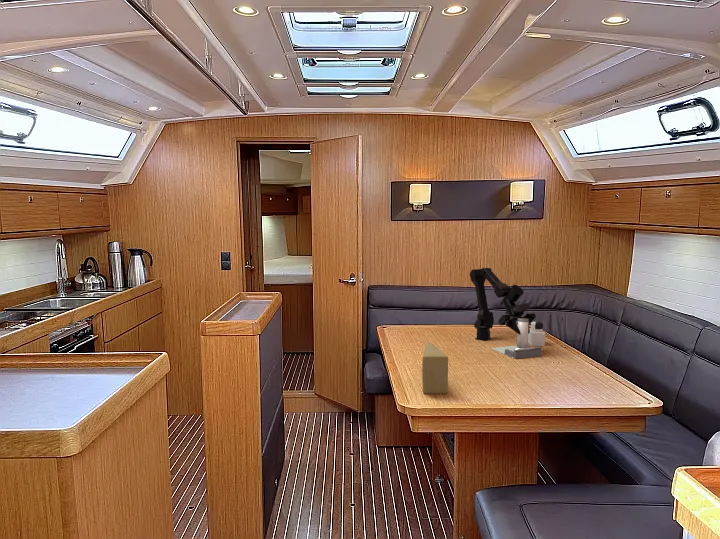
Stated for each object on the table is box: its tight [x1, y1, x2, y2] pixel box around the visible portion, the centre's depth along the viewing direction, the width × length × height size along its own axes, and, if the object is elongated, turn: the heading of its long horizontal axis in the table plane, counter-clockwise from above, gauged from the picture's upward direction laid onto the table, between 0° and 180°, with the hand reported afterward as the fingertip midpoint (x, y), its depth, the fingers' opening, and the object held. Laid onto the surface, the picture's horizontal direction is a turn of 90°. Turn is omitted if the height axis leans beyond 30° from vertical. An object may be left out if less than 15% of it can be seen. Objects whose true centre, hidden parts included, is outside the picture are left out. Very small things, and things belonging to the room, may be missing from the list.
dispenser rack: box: [504, 346, 543, 360], centre depth 238 cm, size 8×15×5 cm, turn 109°
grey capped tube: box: [516, 318, 530, 348], centre depth 238 cm, size 5×5×14 cm
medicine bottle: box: [528, 321, 546, 347], centre depth 259 cm, size 7×7×12 cm
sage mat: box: [490, 345, 519, 355], centre depth 248 cm, size 11×15×1 cm
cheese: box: [421, 341, 449, 395], centre depth 195 cm, size 22×10×15 cm, turn 179°
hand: (524, 333), depth 236 cm, fingers closed on grey capped tube, 5 cm apart
